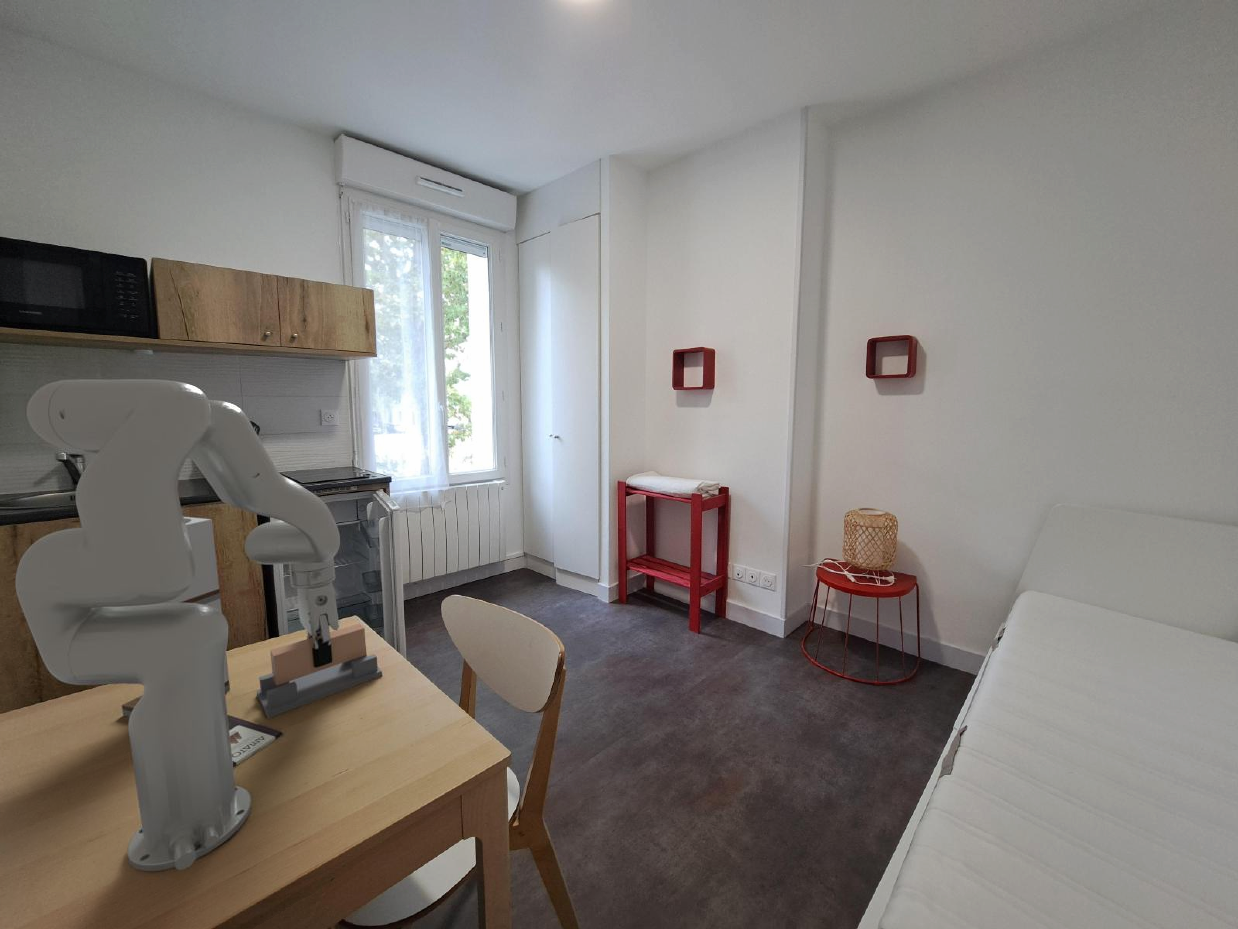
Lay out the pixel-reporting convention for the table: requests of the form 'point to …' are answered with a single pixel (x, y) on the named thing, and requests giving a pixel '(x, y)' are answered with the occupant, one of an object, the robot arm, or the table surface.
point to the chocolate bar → (248, 738)
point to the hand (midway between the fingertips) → (320, 660)
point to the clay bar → (299, 655)
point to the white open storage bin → (198, 580)
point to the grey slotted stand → (315, 685)
